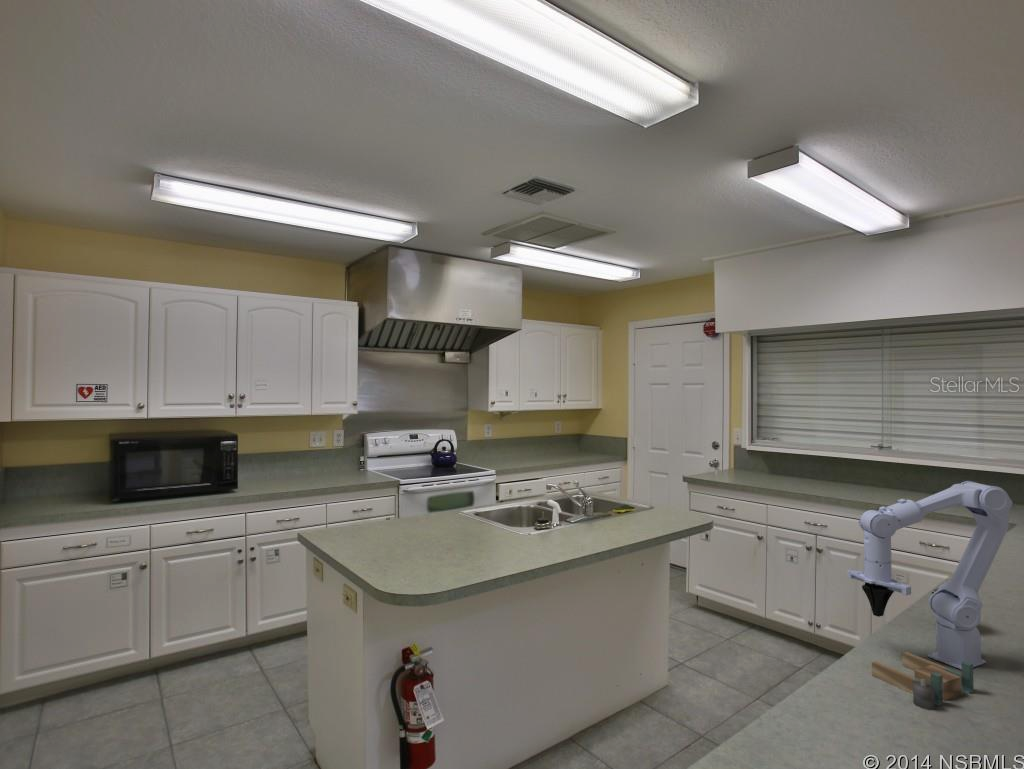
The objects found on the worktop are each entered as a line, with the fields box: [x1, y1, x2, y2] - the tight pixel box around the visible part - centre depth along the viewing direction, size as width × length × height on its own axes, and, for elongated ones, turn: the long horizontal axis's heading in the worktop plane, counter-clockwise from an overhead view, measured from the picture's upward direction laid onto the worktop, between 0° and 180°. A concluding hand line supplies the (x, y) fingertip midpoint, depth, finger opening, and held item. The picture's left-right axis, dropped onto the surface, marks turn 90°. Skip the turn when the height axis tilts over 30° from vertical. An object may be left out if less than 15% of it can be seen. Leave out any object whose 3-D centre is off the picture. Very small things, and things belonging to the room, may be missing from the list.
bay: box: [871, 651, 975, 710], centre depth 126 cm, size 17×14×6 cm
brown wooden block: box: [913, 665, 962, 701], centre depth 124 cm, size 6×6×4 cm
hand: (878, 615), depth 140 cm, fingers closed
